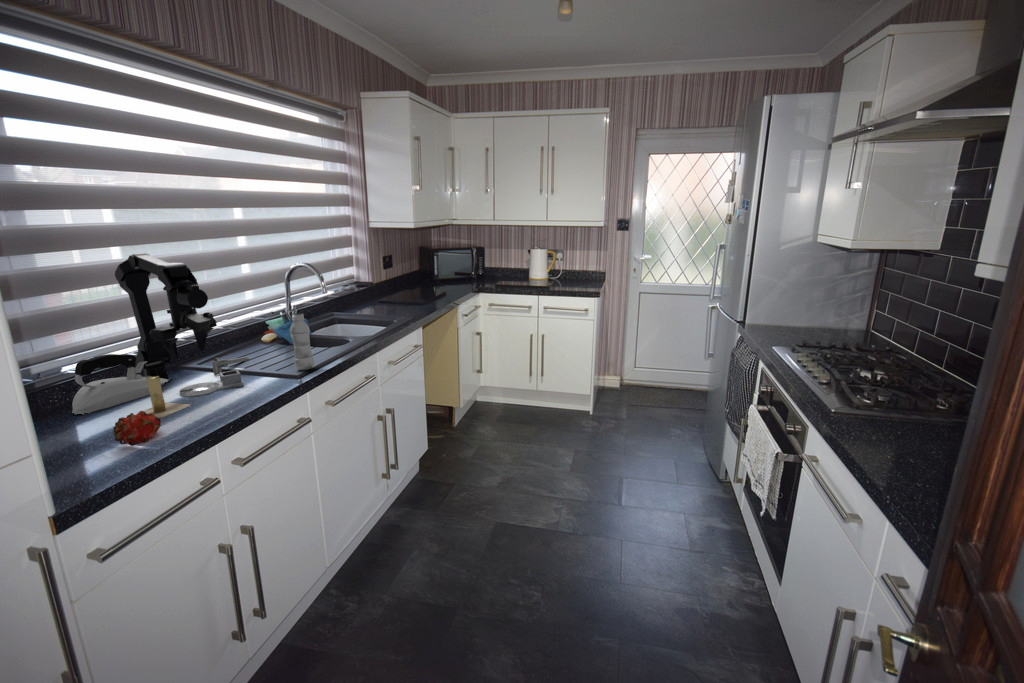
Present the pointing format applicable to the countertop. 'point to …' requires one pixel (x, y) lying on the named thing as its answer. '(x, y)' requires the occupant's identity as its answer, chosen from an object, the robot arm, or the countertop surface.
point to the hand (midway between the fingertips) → (189, 354)
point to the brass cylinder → (156, 394)
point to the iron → (109, 383)
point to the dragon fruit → (136, 428)
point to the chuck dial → (214, 384)
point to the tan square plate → (167, 409)
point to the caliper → (225, 363)
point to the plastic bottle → (301, 343)
